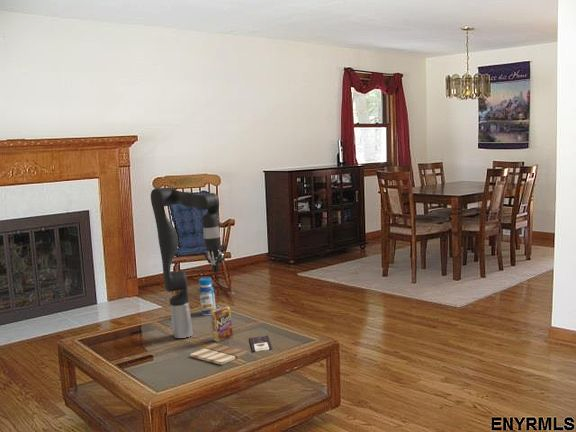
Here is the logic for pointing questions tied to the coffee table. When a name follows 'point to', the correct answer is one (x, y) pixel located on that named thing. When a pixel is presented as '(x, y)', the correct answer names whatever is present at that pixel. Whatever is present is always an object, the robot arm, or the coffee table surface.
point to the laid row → (227, 350)
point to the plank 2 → (220, 358)
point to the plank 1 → (203, 354)
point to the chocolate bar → (260, 343)
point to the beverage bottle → (206, 296)
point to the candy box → (221, 323)
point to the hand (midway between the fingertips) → (216, 272)
